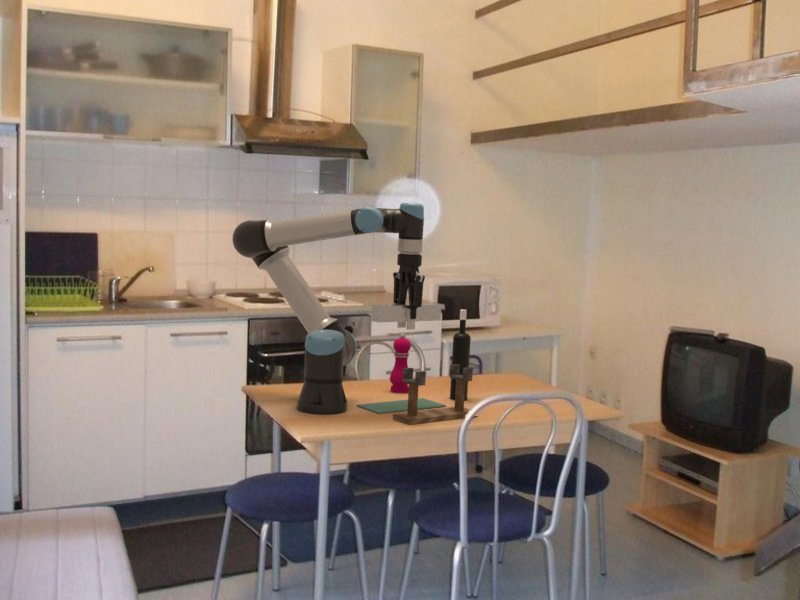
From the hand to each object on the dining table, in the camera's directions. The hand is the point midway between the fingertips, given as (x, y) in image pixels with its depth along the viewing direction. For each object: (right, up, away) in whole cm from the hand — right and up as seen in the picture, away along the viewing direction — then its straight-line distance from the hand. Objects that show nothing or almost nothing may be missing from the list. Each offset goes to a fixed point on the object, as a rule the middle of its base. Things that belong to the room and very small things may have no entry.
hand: (406, 328), depth 273 cm
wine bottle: (+18, -24, +19) cm, 35 cm away
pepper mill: (-2, -23, +27) cm, 35 cm away
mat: (-1, -25, +2) cm, 25 cm away
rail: (0, +2, 0) cm, 2 cm away
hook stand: (+9, -26, -11) cm, 30 cm away
